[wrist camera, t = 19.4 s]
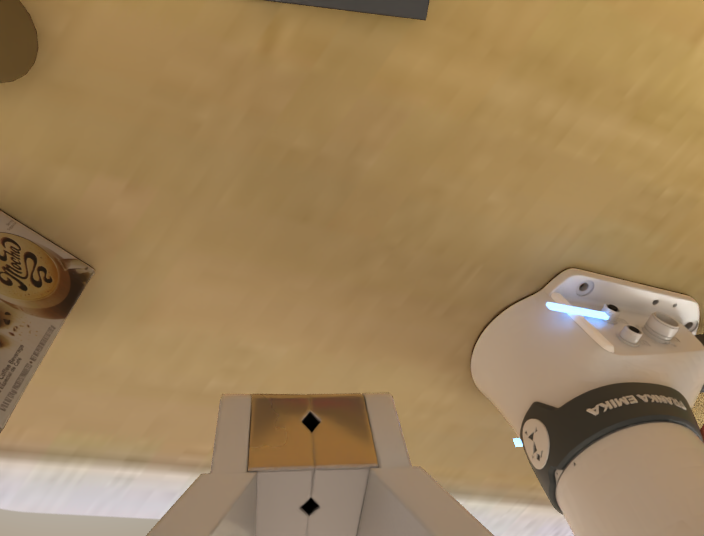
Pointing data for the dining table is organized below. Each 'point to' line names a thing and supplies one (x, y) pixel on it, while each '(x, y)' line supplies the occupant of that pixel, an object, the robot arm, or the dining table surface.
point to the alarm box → (372, 6)
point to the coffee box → (31, 304)
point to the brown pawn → (16, 41)
